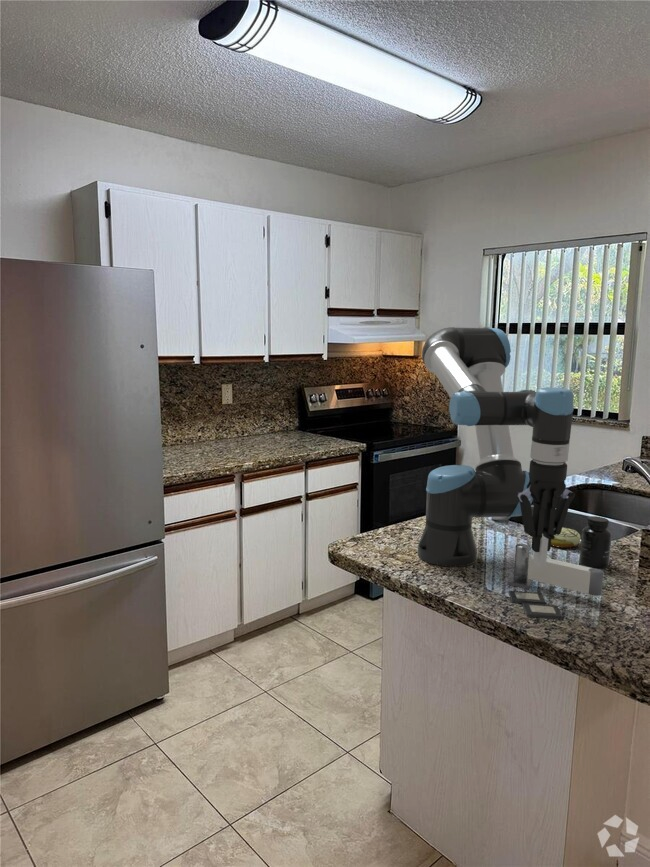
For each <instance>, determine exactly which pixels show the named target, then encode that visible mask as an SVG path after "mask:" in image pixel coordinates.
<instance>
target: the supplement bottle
mask: <svg viewBox="0 0 650 867" xmlns="http://www.w3.org/2000/svg"><path fill="white" fill-rule="evenodd" d="M609 522H610V521H609V519H608V518H605V517H603V516H596V515H594V516H588V517H587V522H586V526H585V527H584V528H583V529H582V532H581V538H580V549H579V550H580V552H579V563H580V564H581V566H585V567H590V568H595V569H600V570H605V569H607V568H608V567H609V565H610V556H611V548H612V539H613V538H612V536H613V535H612V532H611V531H610V530H609Z"/></svg>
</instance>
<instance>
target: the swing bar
mask: <svg viewBox="0 0 650 867" xmlns="http://www.w3.org/2000/svg"><path fill="white" fill-rule="evenodd" d="M533 558H534V554H532V555H530V556H529V561H528V575H527V577H528V579H531V580H533V581H535V582H538V583H539V582H540V583H542V584H547V585H550V586H551V585H552V586H556V587H559V588H564V589H568V590H573V591H575V592H580V593H584V594H588V595H590V596H594V597H600V596H602V595H603V583H604V575H605V574H604V573H605V572H604V571H603V569H595V568H590V567H586V566H584V565H582V564H581V565H580V564H575V563H571V562H566V561H563V560H558V559H553V558H548V557H547V560H546V567H541V568H540V567H538V566H537V565H536V564H534V563H533Z"/></svg>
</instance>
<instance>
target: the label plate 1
mask: <svg viewBox="0 0 650 867" xmlns="http://www.w3.org/2000/svg"><path fill="white" fill-rule="evenodd" d="M508 595H509V598H510V600H511V603H512V604H523V603H530V604H543V605H547V602H546V600H545V597H544V594H543V593H542V592H537V591H523V590H508Z"/></svg>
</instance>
